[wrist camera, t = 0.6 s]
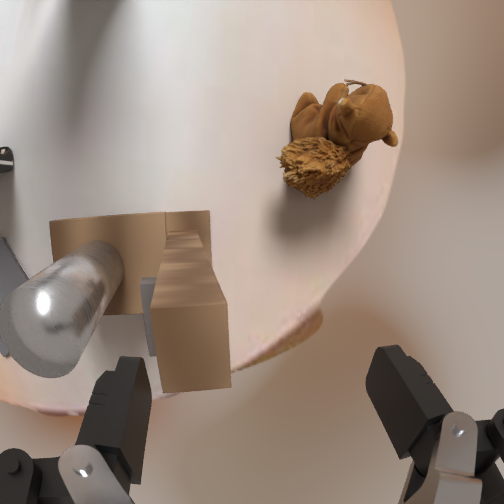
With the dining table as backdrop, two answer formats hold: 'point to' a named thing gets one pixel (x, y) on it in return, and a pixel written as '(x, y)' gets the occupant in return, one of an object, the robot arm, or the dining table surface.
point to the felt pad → (9, 277)
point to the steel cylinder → (60, 309)
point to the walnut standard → (164, 290)
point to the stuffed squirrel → (334, 135)
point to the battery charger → (6, 159)
